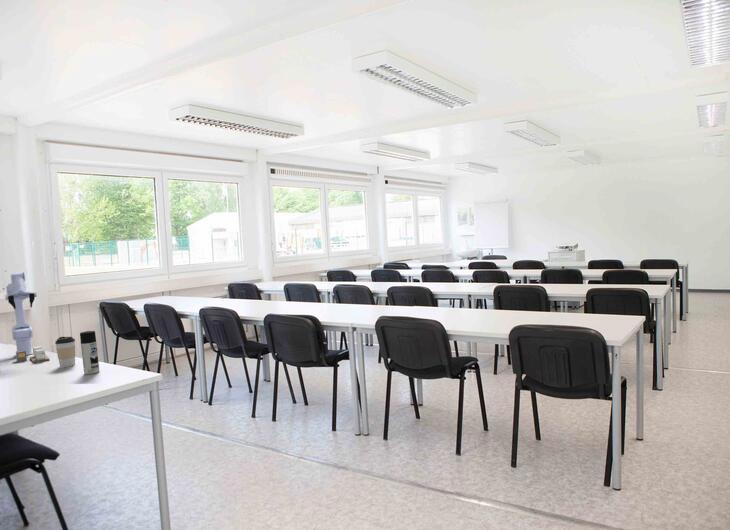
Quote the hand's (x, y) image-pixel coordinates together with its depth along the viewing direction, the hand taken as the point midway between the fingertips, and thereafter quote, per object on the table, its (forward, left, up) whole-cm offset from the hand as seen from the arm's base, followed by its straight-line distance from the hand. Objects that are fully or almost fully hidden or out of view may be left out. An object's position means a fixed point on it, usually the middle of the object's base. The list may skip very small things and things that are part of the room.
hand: (23, 307), depth 291 cm
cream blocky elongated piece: (-2, +5, -30) cm, 31 cm away
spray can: (+62, +20, -31) cm, 72 cm away
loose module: (-8, -3, -31) cm, 32 cm away
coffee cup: (+32, +14, -31) cm, 47 cm away
